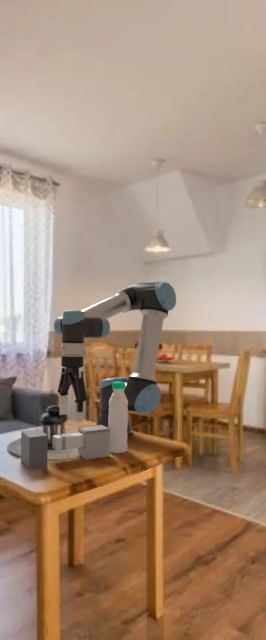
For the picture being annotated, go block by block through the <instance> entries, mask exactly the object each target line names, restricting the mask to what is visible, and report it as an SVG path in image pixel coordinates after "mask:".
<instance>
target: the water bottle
mask: <svg viewBox="0 0 266 640" xmlns="http://www.w3.org/2000/svg"><path fill="white" fill-rule="evenodd" d="M112 388H113V393H112V395H111V398H110V400H109V416H108V425H109V429H110V454H111V453H112V454H123V453H126V452H127V451H128V434H127V426H128V417H129V412H128V411H129V410H128V407H127V406H128V400H127V398H126V395H125V393H124V390H125V383H124V382H113V383H112Z"/></svg>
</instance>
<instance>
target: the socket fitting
mask: <svg viewBox="0 0 266 640" xmlns="http://www.w3.org/2000/svg"><path fill="white" fill-rule="evenodd" d="M20 432H21V435H20V436H21V437H20V439H21V440H20V462H22V464H23V465H24V466H25V467H26V468H27V469H29V470H32V469H37V468H44V467H48V445H49V444H48V440H49V439H48V438H49V436H48V434H47V433H45V432H44V431H42V430H40V429H29V430H22V431H20Z"/></svg>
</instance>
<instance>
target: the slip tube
mask: <svg viewBox="0 0 266 640" xmlns="http://www.w3.org/2000/svg"><path fill="white" fill-rule="evenodd" d="M51 444H52V449H54V450H55V451H64V450H65V451H66V450H71V449H78V448H79V447H85V434H84V433H83V432H79V433H78V432H73V433H63V434H56V435H55V434H54V435H52V443H51Z"/></svg>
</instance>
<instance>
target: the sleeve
mask: <svg viewBox="0 0 266 640" xmlns="http://www.w3.org/2000/svg"><path fill="white" fill-rule="evenodd" d="M79 432H83V433H84V434H85V447H79V448H77V454H78V453H79V454H80V455H81V456H82V457H81V456H80V455H79V456H80V457H81V458H83V459H85V460H93V459H97V458H98V459H101V458H106V457H107V458H108V457H110V455H111V452H110V429H109V428H107V427H105V426H103V425H96V424H95V425H87V426H79V427H78V429H77V433H79Z"/></svg>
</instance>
